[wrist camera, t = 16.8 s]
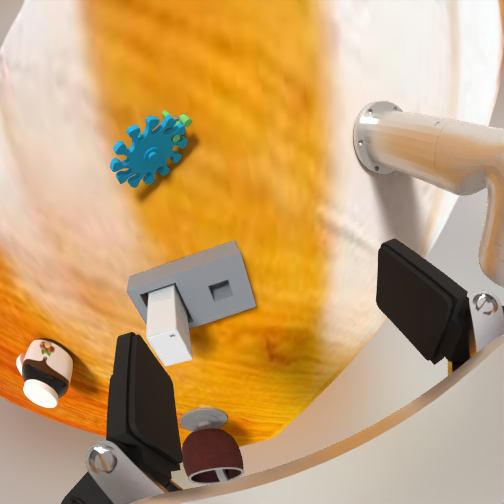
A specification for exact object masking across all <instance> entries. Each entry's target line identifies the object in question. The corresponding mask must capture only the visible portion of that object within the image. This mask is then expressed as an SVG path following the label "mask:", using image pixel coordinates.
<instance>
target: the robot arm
mask: <svg viewBox="0 0 504 504" xmlns="http://www.w3.org/2000/svg"><path fill="white" fill-rule="evenodd" d="M353 139H354V146H355V150H356V153H357V156H358V158H359V159H360V161H361V162H362V164H363V165H364V166H365V167H366V168H367V169H369V170H370V171H373V172H375V173H378V174H390V173H392V172H394V171H399V172H402V173H405V174H407V175H410V176H412V177H415V178H418V179H420V180H423V181H425V182H428V183H430V184H432V185H435V186H437V187H439V188H442V189H444V190H447V191H449V192H451V193H454V194H457V195H462V196H463V195H471V194H474V193H477V192H478V191H480V190H482V189H484V188H486V187H487V188H488V199H487V209H486V215H485V221H484V226H483V231H482V236H481V241H480V247H479V264H480V266H481V269H482V271H483V272H484V274H485V275H486V276H487V277H488V278H489V279H490V280H491V281H493V282H494V283H496V284H498V285H500V286H502V287H504V129H502V128H495V127H488V126H483V125H478V124H473V123H468V122H463V121H458V120H452V119H447V118H441V117H436V116H429V115H423V114H416V113H408V112H403V111H402V110H401V109H400V108H399V107H398V106H397V105H395V104H393V103H391V102H388V101H375V102H372V103H370V104H368V105H367V106H365V108H364V109H363V110H362V111H361V112H360V114H359V115H358V117H357V120H356V122H355V127H354V135H353ZM376 303H377V305H378V307H379V309H380V310H381V311H382V312H383V313H384V314H385V315H386V316H387V317H388V318H389V319H390V320H391V321H392V322H393V323H394V325H395V326H396V327H397V328H399V330H400V331H401V332H402V333H403V334H404V335H405V336H406V338H407V339H409V341H410V342H411V343H412V344H413V345H414V346H415V348H416V349H417V350H418V351H419V352H420V353H421V354H422V355H423V357H425V359H426V360H431V361H432V363H433V364H434V365H435V364H436V363H438V362H439V361H440V360H442V359H443V358H444V356H445V357H446V359H448V376H447V377H446V378H445V379H444V380H443V381H441V382H440V383H438V384H437V385H435V386H434V387H433V388H432V389H430V390H429V391H427V392H426V393H424V394H423V395H421V396H420V397H419V398H417V399H415V400H414V401H412V402H411V403H409V404H408V405H406V406H405V407H403V408H401V409H400V410H398V411H396V412H395V413H393V414H391V415H390V416H388V417H386V418H385V419H383V420H381V421H380V422H378V423H376V424H374V425H373V426H370V427H369V428H367V429H365V430H363V431H361V432H359V433H357V434H355V435H353V436H351V437H349V438H347V439H345V440H343V441H341V442H339V443H336V444H334V445H332V446H330V447H327V448H325V449H323V450H320V451H318V452H316V453H313V454H311V455H308V456H306V457H303V458H301V459H298V460H295V461H292V462H290V463H287V464H284V465H281V466H278V467H275V468H272V469H269V470H265V471H263V472H259V473H255V474H252V475H249V476H245V477H241V478H237V479H233V480H229V481H225V482H220V483H216V484H211V485H207V486H202V487H197V488H191V489H185V490H183V489H182V488H181V487H179V486H178V485H177V484H176V483H174V482H173V481H172V480H171V471H177V470H180V464H179V463H182V462H183V457H182V450H181V444H180V437H179V430H178V423H177V415H176V407H175V398H174V388H173V383H172V380H171V378H170V376H169V375H168V374H167V372H166V371H165V370H164V368H163V367H162V366H161V364H160V363H159V362H158V360H157V359H156V357H155V356H154V355H153V353H152V352H151V350H150V349H149V347H148V346H147V344H146V343H145V341H144V340H143V338H142V337H141V336H140V335H135V333H133V332H130V333H127V334H124V335H120V336H118V339H117V345H116V353H115V361H114V370H113V375H112V376H111V378H110V386H109V397H108V412H107V434H106V441H105V440H104V441H99V442H96V443H95V444H93V445H92V446H91V447H90V448H89V450H88V452H87V454H86V459H85V463H86V468H87V470H88V472H87V473H86V474H85V475H84V476H83V478H82V479H81V480H80V481H79V482H78V483H77V484H76V485H75V487H74V488H73V489H72V490H71V491H70V492H69V493H68V494H67V495H66V496H65V498H64V499H63V501H62V503H61V504H504V306H502V305H501V303H500V301H499V299H498V298H497V297H496V296H495V295H494V294H492V293H490V292H488V291H483V290H482V291H476V292H474V293H473V294H472V295H471V296H470V298H468V297H467V291H466V290H465V289H463V288H462V287H461V286H459V285H458V284H457V283H456V282H454V281H453V280H452V279H451V278H449V277H448V276H447V275H445V274H444V273H443V272H441V271H440V270H439V269H437V268H436V267H435V266H433V265H432V264H431V263H429V262H428V261H427V260H425V259H424V258H422V257H421V256H420V255H418V254H417V253H415V252H414V251H413V250H411V249H410V248H408V247H407V246H405V245H404V244H402V243H401V242H400V241H398V240H396V239H392V240H389V241H387V242H384V243H382V244H381V248H380V249H379V251H378V276H377V294H376Z"/></svg>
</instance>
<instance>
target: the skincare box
mask: <svg viewBox="0 0 504 504" xmlns="http://www.w3.org/2000/svg"><path fill="white" fill-rule="evenodd" d="M146 339H147V340H148V342H149V343H150V345H151V347H152V348H153V349H154V351H155V352H156V354H157V355H158V357H159V358H160V360H161V361H162V362H163V364H164V365H165V366H169V365H173V364H177V363H181V362H185V361H189V360H192V359H193V356H192V349H191V341H190V334H189V326H188V318H187V309H186V304H185V302H184V300H183V298H182V296H181V294H180V292H179V290H178V287H177V285H176V283H173V284H170V285H167V286H164V287H161V288H158V289H155V290H152V291H149V295H148V311H147V331H146Z"/></svg>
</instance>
